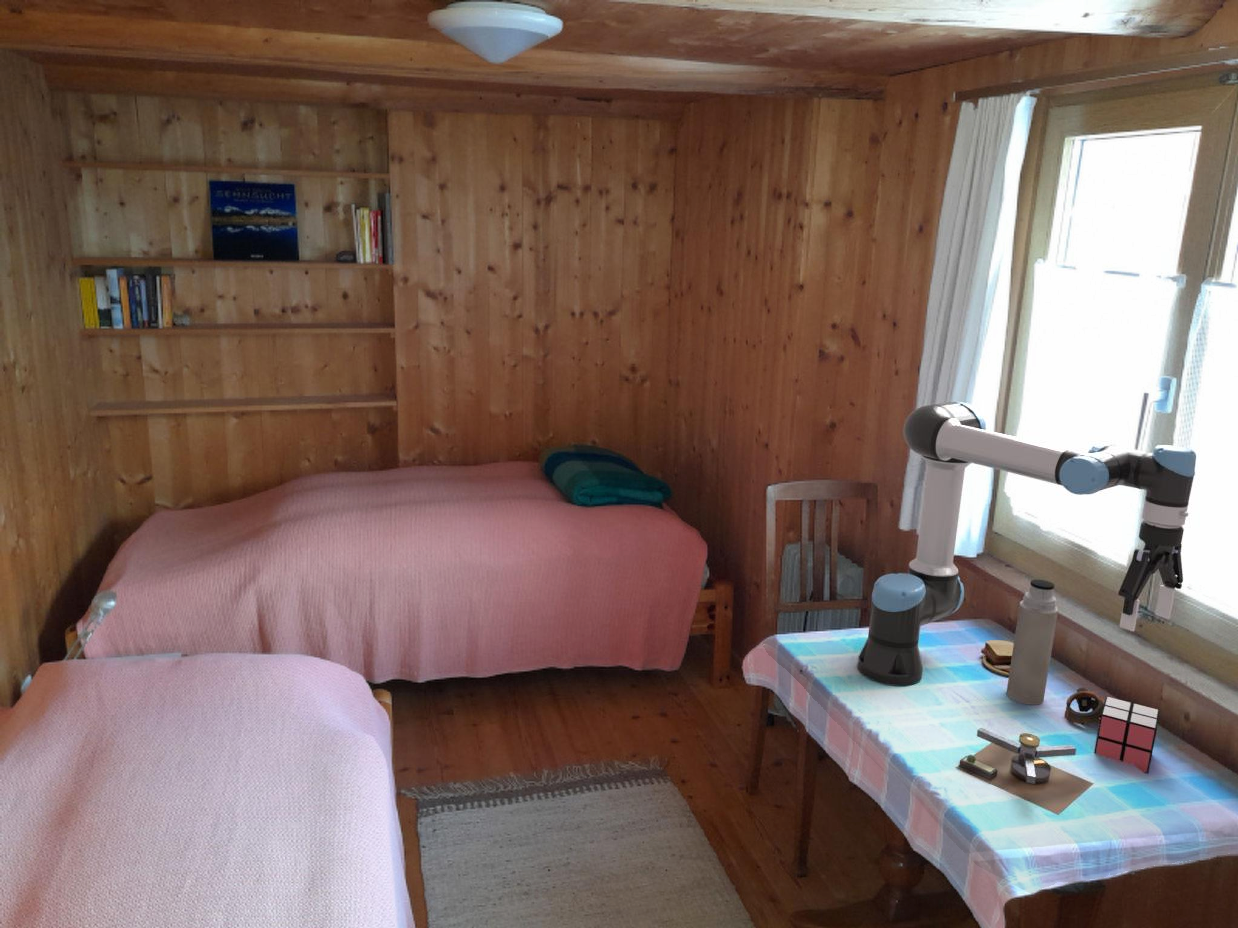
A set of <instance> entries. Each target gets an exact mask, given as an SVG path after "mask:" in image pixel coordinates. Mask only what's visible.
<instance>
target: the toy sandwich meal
mask: <svg viewBox="0 0 1238 928" xmlns="http://www.w3.org/2000/svg"><path fill="white" fill-rule="evenodd" d="M1013 645H1014V642H1012V641H1008V640H1001V639H990V640H986V641H985V645H984V647H982V648H981V650H980V653H981V654H982V655H984V656H983V657H982V663H983V664H984V666H985V667H986V668H987V669H988V670H990V671H991V672H993V673H996V674H999V675H1001V676H1004V677H1009V672H1010V665H1011V659H1012V652H1013Z"/></svg>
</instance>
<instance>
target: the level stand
mask: <svg viewBox="0 0 1238 928" xmlns="http://www.w3.org/2000/svg"><path fill="white" fill-rule="evenodd" d="M1015 755H1019V754H1016V753H1014V752H1012V751H1009V750H1007V749H1005V748H1003V747H1000V746H998V745H996V744H994V743H991V742H989V744H987V745H986V746H985V747H983V748H981V749H980V750H978V751H977V752H975V754H969V755H965V756H964V757H963V758H961V759H959V764H958V765H957V766H955V769H957V770H959V771H962V772H963V773H966V774H968V775H971V776H973V777H975V778H977V779H979V780H981V781H983V782H986V783H988V784H990V785H992V786H995V787H997V788H999V789H1001V790H1003V791H1006V792H1007V793H1009V794H1011V795H1014V796H1016V797H1019V798H1021V799H1023V800H1025V801H1027V802H1029V803H1032V804H1034V805H1035V806H1038V807H1040V808H1042V809H1045V810H1046V811H1049V812H1051V813H1053V814H1056V815H1060V814H1061V813H1062V812H1063V811H1064V810H1066V809H1067V808H1068V806H1071V804H1072V803H1074V802H1075V801H1076V800H1077V799H1079V797H1080V796H1081V795H1082V794H1084V793H1085V792H1086V791H1087V790H1088V789H1089V788H1090V787H1092V786H1093V784H1094V783H1093V782H1091V781H1089V780H1087V779H1085V778H1081V777H1080V776H1077V775H1075V774H1073V773H1069V771H1066V770H1063V769H1061V768H1058V767H1055V766H1053V765H1051V764H1049V765H1050V767H1051V771H1050V777H1049V781H1048V782H1047V783H1044V784H1032V783H1027V782H1024V781H1022V780H1020V779H1018V778H1016V777H1015V776H1014V775H1013V774H1012V773H1011V771H1010V767H1011V761H1012V757H1013V756H1015Z"/></svg>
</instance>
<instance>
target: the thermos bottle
mask: <svg viewBox="0 0 1238 928" xmlns="http://www.w3.org/2000/svg"><path fill="white" fill-rule="evenodd" d="M1054 589H1055V583H1053V582H1051V581H1048V580H1045V579H1032V580H1030V586H1029V591H1027V592H1024V596H1023V597H1022V598H1023V600H1021V601H1020V602H1019V604H1018V605H1019V607H1018V612H1017V613H1018V614H1017V621H1016V627H1015V632H1014V640H1013V643H1014V645H1013V652H1012V659H1011V665H1010V672H1009V676H1008V679H1007V686H1006V695H1007V696H1008V698H1010V699H1011V700H1013V701H1015V702H1019V703H1021V704H1025V705H1026V704H1027V705H1040V704H1042V703H1043V702H1044V700H1045V694H1046V688H1047V682H1048V676H1049V669H1050V664H1051V657H1052V650H1053V645H1054V638H1055V631H1056V626H1057V620H1058V612H1059V608H1058V607H1057V605H1056V604H1057V599H1056V597H1055V596H1053V595H1054Z"/></svg>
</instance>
